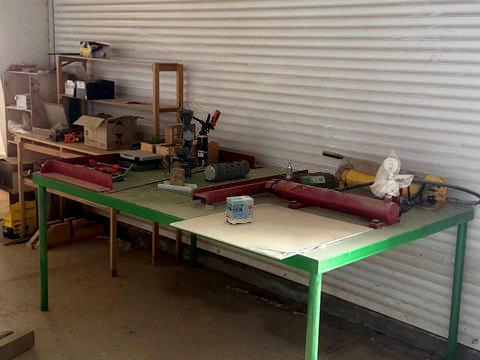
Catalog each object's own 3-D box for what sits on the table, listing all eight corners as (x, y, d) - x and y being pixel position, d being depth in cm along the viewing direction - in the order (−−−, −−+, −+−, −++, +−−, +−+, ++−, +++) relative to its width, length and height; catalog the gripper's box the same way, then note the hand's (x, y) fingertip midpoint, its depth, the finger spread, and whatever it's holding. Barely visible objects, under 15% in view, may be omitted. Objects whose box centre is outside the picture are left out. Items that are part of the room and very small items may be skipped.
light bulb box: (231, 225, 252) (232, 201, 250) (225, 220, 258) (225, 197, 256) (253, 222, 257) (254, 198, 255) (246, 218, 263) (247, 195, 260)
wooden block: (173, 186, 315) (173, 167, 313) (184, 187, 313) (184, 169, 311) (169, 187, 311) (170, 169, 309) (180, 188, 309) (181, 170, 307)
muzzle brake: (250, 178, 346) (250, 161, 344) (214, 184, 327) (214, 166, 325) (239, 175, 353) (239, 158, 351) (203, 181, 334) (203, 163, 332)
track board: (166, 185, 321) (166, 180, 320) (197, 189, 314) (197, 184, 314) (156, 189, 311) (156, 184, 310) (189, 193, 304) (189, 188, 304)
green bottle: (277, 196, 306) (277, 177, 304) (269, 191, 315) (270, 173, 313) (342, 192, 319) (344, 174, 317) (334, 188, 328) (335, 170, 326)
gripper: (165, 139, 314) (156, 163, 306) (197, 142, 308) (188, 166, 300) (172, 151, 323) (163, 175, 315) (203, 154, 317) (194, 178, 309)
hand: (176, 173), depth 310 cm, fingers open, 9 cm apart
